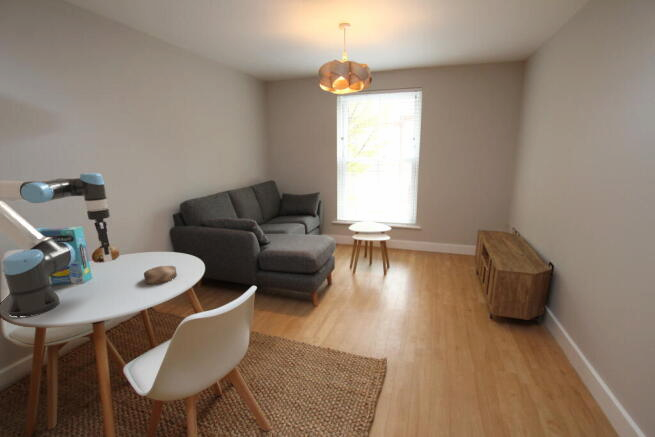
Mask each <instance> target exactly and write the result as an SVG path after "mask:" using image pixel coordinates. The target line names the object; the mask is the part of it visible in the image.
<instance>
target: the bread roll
mask: <svg viewBox="0 0 655 437" xmlns="http://www.w3.org/2000/svg"><path fill="white" fill-rule="evenodd" d="M109 247H110V252H111V257H112V261H116V259H118V258H119V257H120V251H119V249H118V248H116V247H115V246H113V245H110V246H109ZM91 260H92V261H93V263H98V264H99V263H100V264H101V263H105V262H104V257H103V252H102V248H100V246H99V247H97V248H96V249H95V250H94V251H93V253H92V254H91Z"/></svg>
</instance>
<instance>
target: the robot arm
mask: <svg viewBox="0 0 655 437" xmlns="http://www.w3.org/2000/svg"><path fill="white" fill-rule="evenodd" d="M69 197H83V198H84V204H85V210H87V211H86V213H87V219H88V220H91V221H95V222H93V223H94V228H95V231H96V232H97V238H98V242H99V247H100V248H102V252H103V257H104V262H103V263H108V262H112V261H113V260H112V257H111V252H110V247H109V246H111V244H110V243H109V236H108V233H107V232H108V228H107V225H108V224H107V222H106V221H104V219H108V218H110V216H111V215H110V210H109V208H108V207H109V205H108V203H110V202H109V200H107V195H106V189H105V182H104V177H103V175H102V174H101V173H100V172H86V173H80V175H79V178H78V177H77V178H63V177H62V178H61V177H60V178H53V179H51V180H44V181H33V180H31V181H27V180H25V181H24V180H23V181H22V180H19V181H18V180H0V232H1V233H2V234H3V235H5V236H7V237H8V239H10V240H11V241H12V242H13V243H15V244H16V245H17V246H18V247H20V248H21V249H22V251H20V252H19V251H18V252H15V253H13V254H10V255H8V256H6V257H5V258H4V259H3V260H2V267H3V268H2V271H3V272H2V273H3V274H4V277H5V280H6V283H7V287H8V292H9V294H10V298H9V299H10V300H9V304H8V309H7V312H8V316H9V315H11V316H17V317H20V316H30V317H32V316H31V315H34V316H37V315H36V314H38V315H40V313H41V314H43V312H44V313H47V312H49V311H51V310H53V309H55V308H56V307H57V306H59V305H60V303H61V301H60V298H59V296H58V294H57V293H56V291H55V290H54V289H53V288H52V285H50V283H49V278H48V277H49V276H51V275H53V274H55V273H57V272H58V271H60V270H63V269H65V268H67V267H68V266H70V265H71V264H72V263H73V261H74V259H75V251H74V249H73V247H72V246H71V245H69V244H68V243H65V242H57V241H56V240H55V239H53V238H52V237H45V236H44V235H42V234H41V233H40V232H39V231H38V230H37V229H36V228H35V227H34V226H33V225H32V224H31V223H29V222H28V220H26V219H25V218H24V217H23V216H21V215H20V214H19V213H18V212H17V211H15V210H14V209H13V208H12V207H11V206H10V205H8V204H7V203H6V202H29V203H32V204H40V203H46V202H50V201H55V200H58V199H59V200H60V199H64V198H65V199H66V198H69Z"/></svg>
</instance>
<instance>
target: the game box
mask: <svg viewBox="0 0 655 437" xmlns="http://www.w3.org/2000/svg"><path fill="white" fill-rule="evenodd" d="M35 229H37V230H38V231H39V232H40V233H41V234H42V235H44V236H45V237H52V238H53V239H55V240H56V241H57V242H65V243H68V244H69V245H71V246H72V247H73V249H74V251H75V259H74V261H73V263H72V264H71V265H70V266H68V267H67V268H65V269H63V270H60V271H58V272H57V273H55V274H53V275H51V276H49V277H48V278H49V283H50V286H52V285H68V284H70V285H71V284H85V283H87V282H89V281H91V280H92V279H93V274H92V272H91V265H90V260H89V255H88V250H87V244H86V240H85V234H84V228H83V226H67V227H66V226H65V227H63V226H62V227H60V226H59V227H36V228H35Z"/></svg>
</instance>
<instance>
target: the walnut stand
mask: <svg viewBox="0 0 655 437" xmlns="http://www.w3.org/2000/svg"><path fill="white" fill-rule="evenodd" d="M176 276H178V273H177V267H176V266H173V265H160V266H156V267H152V268H150V269H147V270H146V271H144V272H143V278H144V282H145V284H148V285H152V286H153V285H162V284H165V282H166V283H169V282H172V281H173V280H175V279H176V278H177V277H176ZM175 277H176V278H175ZM174 278H175V279H174ZM172 279H173V280H172ZM168 281H169V282H168Z"/></svg>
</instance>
